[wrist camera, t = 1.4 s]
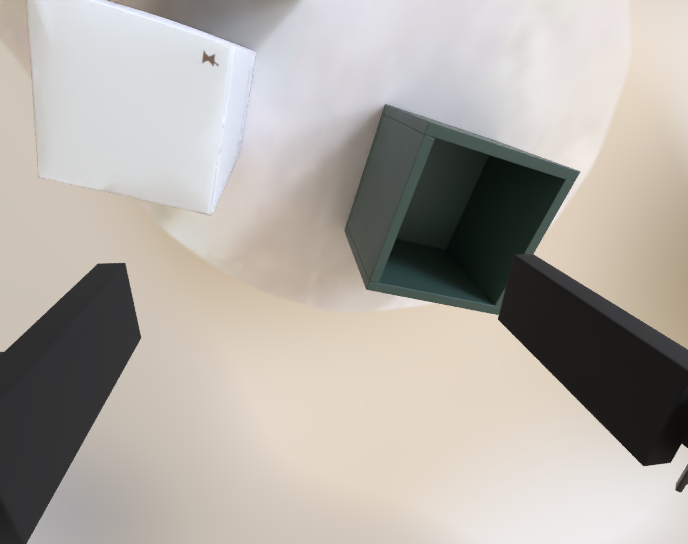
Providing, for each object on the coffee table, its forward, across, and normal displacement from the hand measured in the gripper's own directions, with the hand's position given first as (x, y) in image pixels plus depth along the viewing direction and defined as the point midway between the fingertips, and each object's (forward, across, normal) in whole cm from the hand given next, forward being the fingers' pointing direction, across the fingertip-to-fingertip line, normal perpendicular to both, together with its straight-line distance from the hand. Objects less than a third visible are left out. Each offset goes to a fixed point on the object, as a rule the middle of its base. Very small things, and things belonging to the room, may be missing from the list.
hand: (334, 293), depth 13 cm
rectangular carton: (+25, -9, +6) cm, 27 cm away
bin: (+25, +12, -2) cm, 28 cm away
